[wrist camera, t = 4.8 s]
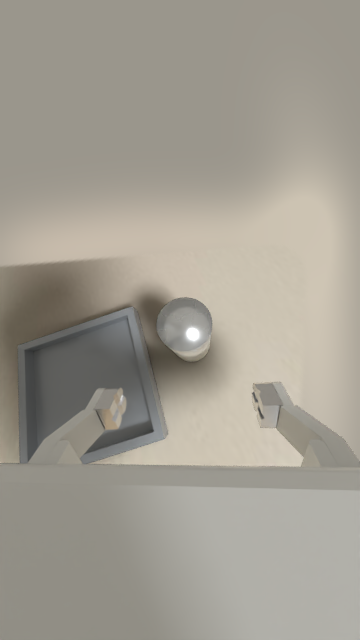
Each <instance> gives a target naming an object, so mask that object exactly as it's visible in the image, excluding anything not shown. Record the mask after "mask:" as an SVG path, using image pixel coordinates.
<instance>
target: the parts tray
mask: <svg viewBox="0 0 360 640" xmlns="http://www.w3.org/2000/svg"><path fill="white" fill-rule="evenodd" d="M98 388H122V390H123V394H122V395H123V396H125V398H126V409H125V412H124V413H123V414H122V415H121V418H122V420H121V423H120V426H119V428H118V429H112V430H105V431H104V432H103V433H102V434H101V435H100V437H99V438H98V439H97V440H96V441H95V442H94V443H93V444H92V445H91V446H90V448H89V449H88V450H87V451H86V452H85V453H84V454H83V455H82V456H81V457H80V460H81V461H82V463H83V464H88V463H91V462H95V461H98V460H101V459H104V458H107V457H110V456H113V455H116V454H120V453H123V452H126V451H129V450H132V449H135V448H138V447H141V446H145V445H148V444H151V443H154V442H157V441H160V440H163V439H165V438H166V436H167V435H168V431H167V427H166V423H165V419H164V415H163V411H162V407H161V403H160V399H159V395H158V391H157V387H156V383H155V379H154V375H153V371H152V367H151V363H150V359H149V355H148V351H147V347H146V343H145V339H144V335H143V331H142V327H141V323H140V319H139V315H138V311H137V310H136V309H135V308H134V307H133V306H132V307H129V308H126V309H123V310H120V311H117V312H114V313H111V314H108V315H105V316H102V317H99V318H97V319H94V320H91V321H88V322H85V323H82V324H79V325H76V326H73V327H70V328H67V329H64V330H61V331H58V332H56V333H53V334H50V335H47V336H44V337H41V338H38V339H35V340H32V341H29V342H26V343H23V344H20V345H18V389H19V446H20V463H28V462H29V460H30V459H31V458H32V456H33V455H34V453H35V452H36V450H37V449H38V447H39V446H40V444H41V443H42V442H43V440H44V439H45V438H47V437H48V436H49V435H51V434H52V433H53V432H54V431H56V430H57V429H58V428H60V427H61V426H62V425H64V424H65V423H66V422H68V421H69V420H70V419H72V418H73V417H74V416H75V415H77V414H78V413H79V412H81V411H82V410H85V409H86V407H87V405H88V403H89V402H90V400H91V398H92V397H93V395H94V393H95V391H96V390H97V389H98Z"/></svg>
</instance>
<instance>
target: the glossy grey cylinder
mask: <svg viewBox="0 0 360 640" xmlns="http://www.w3.org/2000/svg"><path fill="white" fill-rule="evenodd" d="M156 326H157V332H158V335H159V337H160V339H161V340H162V342H163V343H164V344H165V345H166V346H167V347H169V348H170V349H171V350H172V351H173V352H174V353H175V354H177V355H178V356H179V357H180V358H181V359H183V360H185V361H189V362H195V361H198V360H200V359H202V358H203V357H204V356H205V355H206V354H207V352H208V350H209V347H210V339H211V330H212V318H211V314H210V312H209V310H208V309H207V308H206V306H205V305H204V304H203V303H201V302H200V301H198V300H196V299H193V298H178V299H175V300H172V301H171V302H169V303H168V304H166V305H165V306H164V307H163V308H162V310H161V311H160V313H159V315H158V318H157V325H156Z"/></svg>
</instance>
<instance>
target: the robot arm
mask: <svg viewBox="0 0 360 640" xmlns="http://www.w3.org/2000/svg"><path fill="white" fill-rule="evenodd" d="M253 390H254V392H253V393H252V402H253V406H254V410H255V411H257V419H258V422H259V425H260V428H277V430H278V431H279V432H280V433H281V434H282V435H283V436H284V437H285V438H286V439H287V440H288V441H289V442H290V443H291V445H292V446H293V447H294V448H295V449H296V450H297V451H298V452H299V453H300V454H301V455H302V456H303V457H304V459H303V462H302V465H301V467H287V466H201V465H112V464H83V463H82V461H81V460H80V457H81V456H82V455H83V454H84V453H85V452H86V451H87V450H88V449H89V448H90V446H91V445H92V444H93V443H94V442H95V441H96V440H97V439H98V438H99V437H100V435H101V434H102V433H103V432H104V431H105V430H112V429H118V428H119V426H120V423H121V420H122V418H121V415H122V414H123V413H124V412H125V409H126V398H125V396H123V395H122V394H123V390H122V388H98V389H97V390H96V391H95V393H94V395H93V397H92V398H91V400H90V402H89V403H88V405H87V407H86V409H85V410H82V411H81V412H79V413H78V414H77V415H75V416H74V417H73V418H72V419H70V420H69V421H68V422H66V423H65V424H64V425H62V426H61V427H60V428H58V429H57V430H56V431H54V432H53V433H52V434H51V435H49V436H48V437H47V438H45V439H44V440H43V442H42V443H41V444H40V446H39V447H38V449H37V450H36V452H35V453H34V455H33V456H32V458H31V459H30V460H29V462H28V463H0V640H360V461H359V460H358V459H357V457H356V456H355V454H354V453H353V451H352V450H351V448H350V447H349V446H348V444H347V443H346V441H345V440H344V439H343V438H342V437H341V436H339V435H338V434H336V433H335V432H333V431H332V430H331V429H329V428H328V427H326V426H325V425H324V424H322V423H321V422H320V421H318V420H317V419H315V418H314V417H313V416H311V415H310V414H308V413H307V412H305V411H304V410H303V409H301V408H300V407H298V406H297V405H294V404H293V402H292V401H291V399H290V397H289V395H288V393H287V392H286V390H285V388H284V386H283V384H282V383H281V382H264V383H253Z"/></svg>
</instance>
